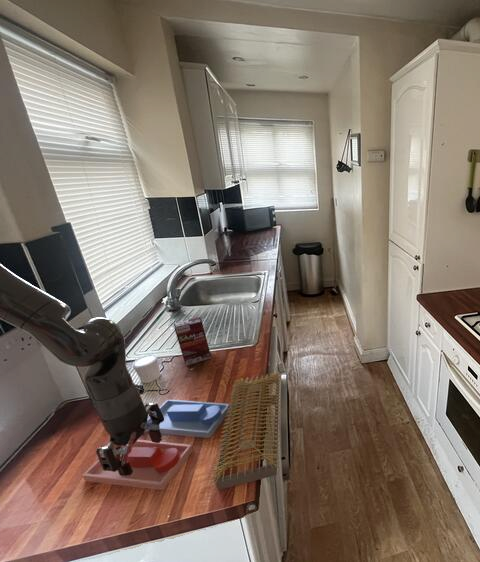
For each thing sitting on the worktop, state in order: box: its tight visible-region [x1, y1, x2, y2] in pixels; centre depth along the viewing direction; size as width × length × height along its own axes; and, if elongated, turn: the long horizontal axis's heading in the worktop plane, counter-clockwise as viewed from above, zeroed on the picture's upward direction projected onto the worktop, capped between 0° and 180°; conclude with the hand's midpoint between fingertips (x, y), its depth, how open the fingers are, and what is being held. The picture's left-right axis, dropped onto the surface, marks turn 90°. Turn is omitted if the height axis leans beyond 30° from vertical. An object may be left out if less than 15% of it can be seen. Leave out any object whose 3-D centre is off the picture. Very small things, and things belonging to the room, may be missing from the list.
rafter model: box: [209, 370, 281, 491], centre depth 84 cm, size 35×14×6 cm, turn 15°
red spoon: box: [120, 447, 180, 473], centre depth 73 cm, size 15×5×4 cm, turn 83°
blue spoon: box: [166, 404, 221, 425], centre depth 86 cm, size 15×5×4 cm, turn 83°
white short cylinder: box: [131, 354, 161, 384], centre depth 104 cm, size 7×7×7 cm
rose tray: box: [81, 439, 194, 491], centre depth 74 cm, size 20×10×2 cm, turn 83°
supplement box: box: [173, 316, 212, 367], centre depth 111 cm, size 9×5×16 cm, turn 123°
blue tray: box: [144, 398, 231, 439], centre depth 87 cm, size 20×10×2 cm, turn 83°
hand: (143, 456), depth 73 cm, fingers open, 8 cm apart
